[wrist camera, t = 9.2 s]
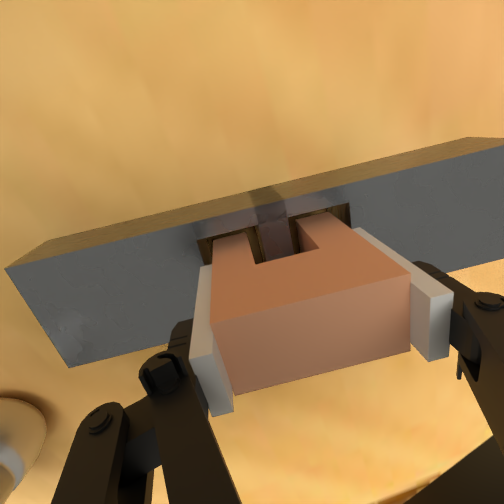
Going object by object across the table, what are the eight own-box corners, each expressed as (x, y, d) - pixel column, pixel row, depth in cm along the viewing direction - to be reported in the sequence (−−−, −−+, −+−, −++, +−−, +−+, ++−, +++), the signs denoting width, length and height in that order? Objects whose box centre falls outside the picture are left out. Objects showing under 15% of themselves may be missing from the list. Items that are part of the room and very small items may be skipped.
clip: (228, 289, 18) (234, 395, 11) (213, 240, 17) (209, 323, 10) (334, 263, 18) (410, 350, 11) (327, 211, 17) (410, 273, 10)
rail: (94, 326, 21) (68, 368, 18) (46, 241, 18) (4, 268, 15) (460, 235, 22) (509, 256, 18) (468, 136, 19) (528, 138, 15)
